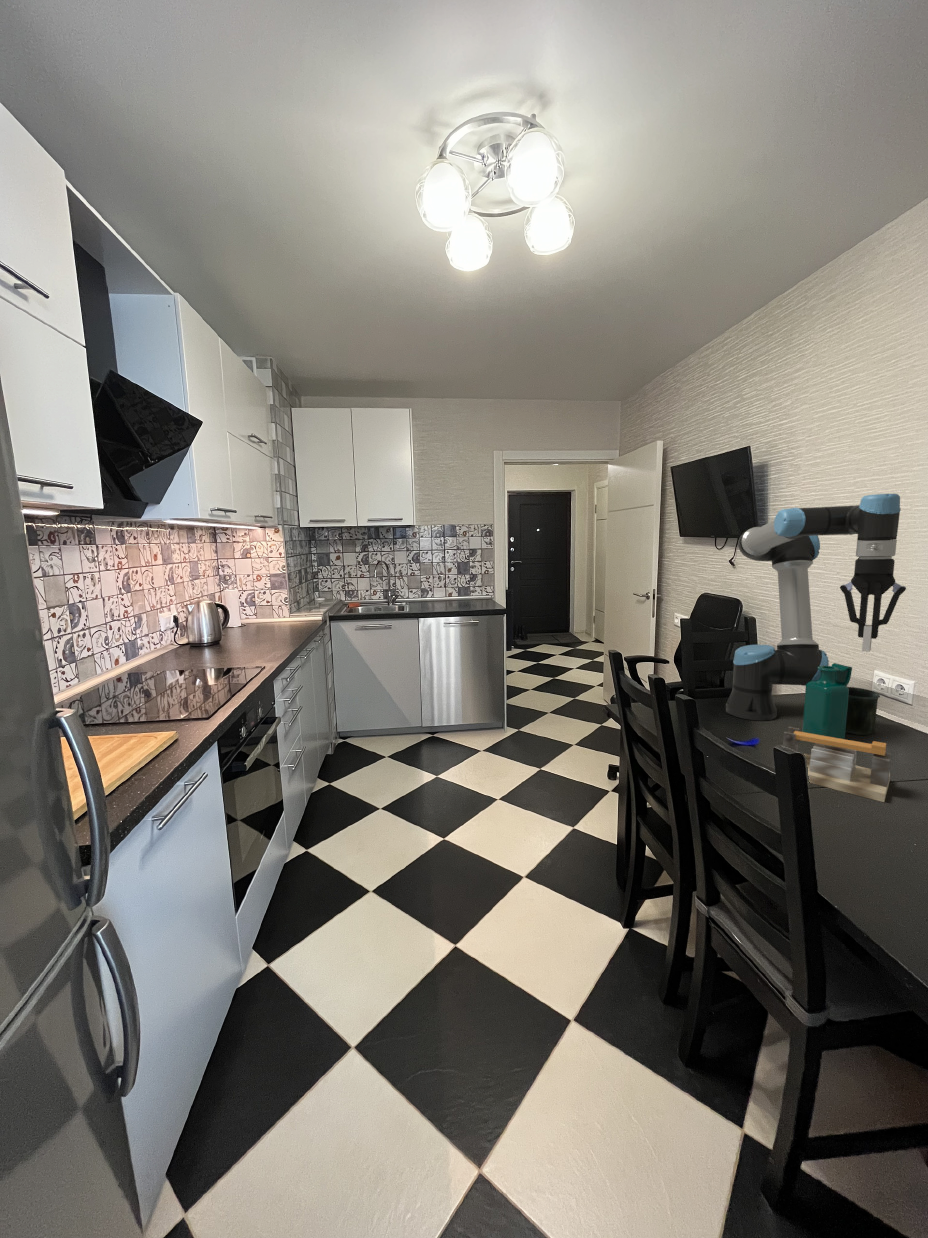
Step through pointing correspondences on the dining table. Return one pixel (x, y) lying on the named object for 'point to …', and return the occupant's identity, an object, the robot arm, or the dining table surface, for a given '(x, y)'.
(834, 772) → the clear acrylic stand
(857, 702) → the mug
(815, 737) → the wooden stick
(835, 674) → the pitcher
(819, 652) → the robot arm
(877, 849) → the dining table surface
